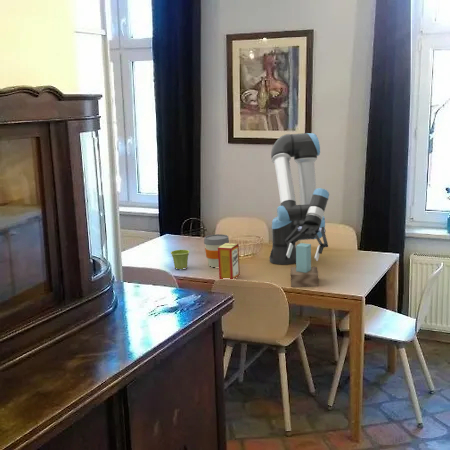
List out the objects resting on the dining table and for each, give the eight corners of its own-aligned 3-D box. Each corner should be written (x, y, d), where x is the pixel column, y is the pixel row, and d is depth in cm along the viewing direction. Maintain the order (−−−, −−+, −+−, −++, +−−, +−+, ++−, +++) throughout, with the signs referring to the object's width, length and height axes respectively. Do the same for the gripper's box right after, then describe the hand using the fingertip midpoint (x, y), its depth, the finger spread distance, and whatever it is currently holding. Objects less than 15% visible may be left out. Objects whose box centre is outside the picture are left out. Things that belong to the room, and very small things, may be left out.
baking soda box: (232, 280, 297) (230, 247, 293) (219, 279, 299) (217, 246, 296) (239, 275, 305) (238, 242, 302) (227, 274, 308) (225, 242, 304)
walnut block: (291, 287, 283) (290, 274, 282) (291, 279, 295) (290, 267, 294) (318, 287, 282) (317, 274, 281) (317, 279, 294) (316, 266, 293)
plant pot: (193, 266, 324) (192, 249, 323) (186, 271, 316) (185, 254, 314) (176, 265, 328) (175, 249, 326) (168, 270, 319) (167, 253, 317)
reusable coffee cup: (201, 268, 320) (200, 239, 317) (210, 261, 331) (209, 233, 328) (225, 269, 316) (223, 240, 313) (233, 263, 327) (232, 234, 324)
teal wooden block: (296, 271, 287) (296, 245, 284) (300, 268, 291) (300, 243, 288) (306, 272, 284) (306, 246, 281) (310, 269, 288) (310, 244, 286)
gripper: (341, 224, 290) (330, 264, 281) (291, 221, 303) (279, 259, 293) (337, 215, 285) (325, 256, 275) (286, 212, 297) (273, 251, 287)
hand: (301, 258), depth 284 cm, fingers open, 13 cm apart
